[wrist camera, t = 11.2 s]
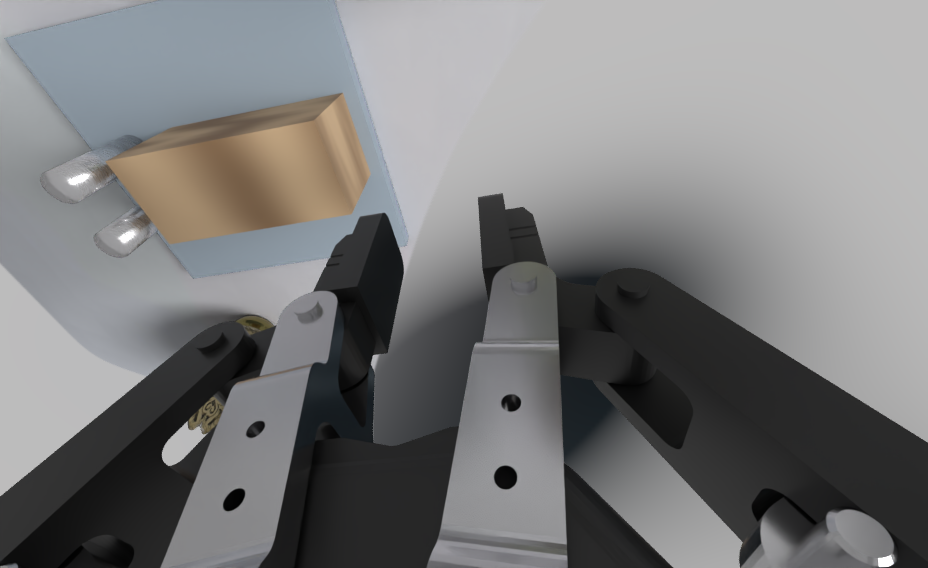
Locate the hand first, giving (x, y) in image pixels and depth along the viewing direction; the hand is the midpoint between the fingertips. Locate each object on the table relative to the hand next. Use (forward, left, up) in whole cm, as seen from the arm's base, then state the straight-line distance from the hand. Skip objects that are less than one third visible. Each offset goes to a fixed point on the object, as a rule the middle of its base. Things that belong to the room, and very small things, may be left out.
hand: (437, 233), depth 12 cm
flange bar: (+10, 0, -12) cm, 16 cm away
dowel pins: (+18, 0, -12) cm, 22 cm away
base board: (+13, 0, -13) cm, 18 cm away
